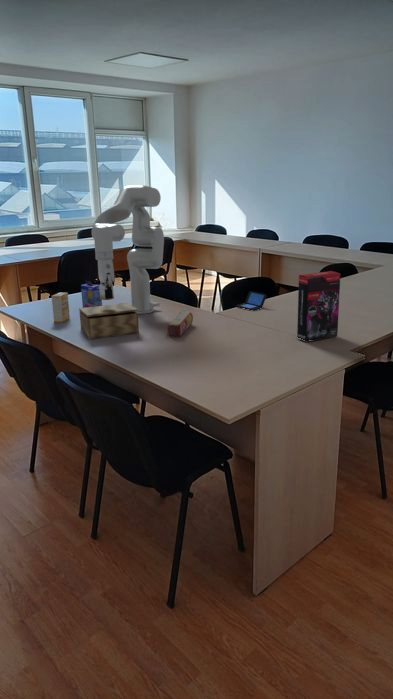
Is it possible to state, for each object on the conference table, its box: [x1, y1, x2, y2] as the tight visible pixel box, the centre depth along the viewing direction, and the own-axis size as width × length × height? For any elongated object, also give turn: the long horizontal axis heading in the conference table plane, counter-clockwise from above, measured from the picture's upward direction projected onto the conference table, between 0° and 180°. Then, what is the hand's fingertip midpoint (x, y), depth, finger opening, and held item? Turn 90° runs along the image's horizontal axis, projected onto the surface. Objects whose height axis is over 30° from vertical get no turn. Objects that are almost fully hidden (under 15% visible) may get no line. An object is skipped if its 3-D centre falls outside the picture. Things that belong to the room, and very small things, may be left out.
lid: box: [79, 303, 138, 317], centre depth 230 cm, size 22×17×1 cm
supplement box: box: [51, 292, 71, 323], centre depth 250 cm, size 8×5×13 cm, turn 168°
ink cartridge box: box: [80, 280, 103, 308], centre depth 273 cm, size 10×6×14 cm, turn 54°
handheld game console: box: [235, 290, 268, 311], centre depth 271 cm, size 12×11×7 cm
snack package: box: [167, 310, 194, 338], centre depth 232 cm, size 21×7×7 cm, turn 166°
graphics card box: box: [296, 270, 341, 341], centre depth 215 cm, size 17×7×27 cm, turn 117°
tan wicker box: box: [78, 310, 140, 340], centre depth 232 cm, size 22×17×9 cm
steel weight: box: [98, 283, 115, 301], centre depth 228 cm, size 6×6×6 cm
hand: (107, 296), depth 228 cm, fingers closed on steel weight, 6 cm apart
